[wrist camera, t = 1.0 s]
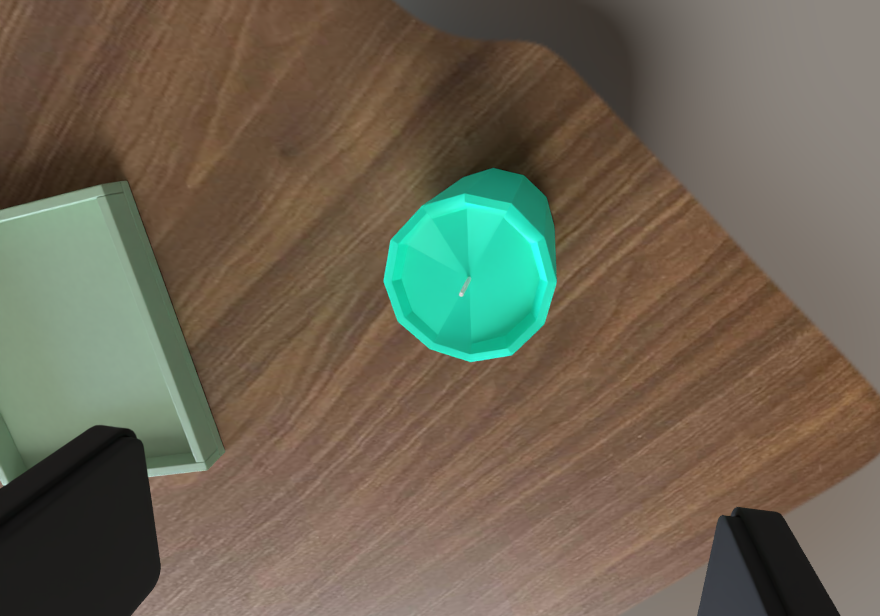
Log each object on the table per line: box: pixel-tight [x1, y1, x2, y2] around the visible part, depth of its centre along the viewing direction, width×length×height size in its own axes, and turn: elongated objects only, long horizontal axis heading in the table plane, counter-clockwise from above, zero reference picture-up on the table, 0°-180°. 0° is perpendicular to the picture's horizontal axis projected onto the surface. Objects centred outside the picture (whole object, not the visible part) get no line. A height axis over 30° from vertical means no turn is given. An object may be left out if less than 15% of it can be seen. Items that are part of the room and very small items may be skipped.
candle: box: [384, 168, 557, 362], centre depth 25 cm, size 6×6×12 cm
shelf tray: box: [0, 181, 225, 486], centre depth 36 cm, size 17×15×2 cm
